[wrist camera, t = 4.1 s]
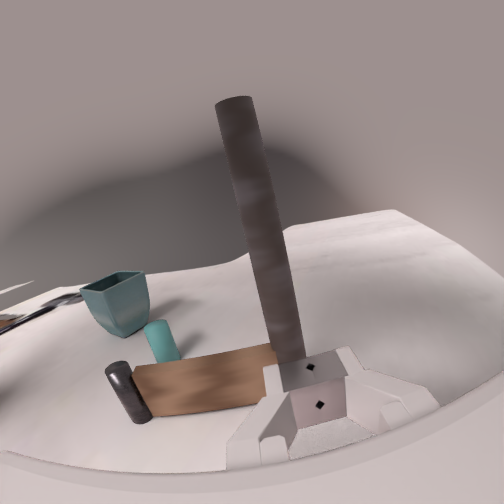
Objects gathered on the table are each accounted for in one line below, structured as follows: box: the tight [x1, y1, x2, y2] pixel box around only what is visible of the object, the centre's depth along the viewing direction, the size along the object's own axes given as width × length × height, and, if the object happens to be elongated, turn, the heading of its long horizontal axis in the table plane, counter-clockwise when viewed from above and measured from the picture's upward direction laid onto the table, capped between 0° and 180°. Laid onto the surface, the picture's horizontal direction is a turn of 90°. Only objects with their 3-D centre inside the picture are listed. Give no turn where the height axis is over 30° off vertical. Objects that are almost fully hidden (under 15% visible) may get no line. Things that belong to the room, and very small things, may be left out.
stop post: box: [144, 320, 181, 363], centre depth 34 cm, size 3×3×5 cm
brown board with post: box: [132, 96, 306, 417], centre depth 21 cm, size 15×3×24 cm, turn 93°
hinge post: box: [105, 361, 153, 424], centre depth 24 cm, size 2×2×6 cm
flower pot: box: [79, 271, 150, 338], centre depth 45 cm, size 9×9×9 cm
